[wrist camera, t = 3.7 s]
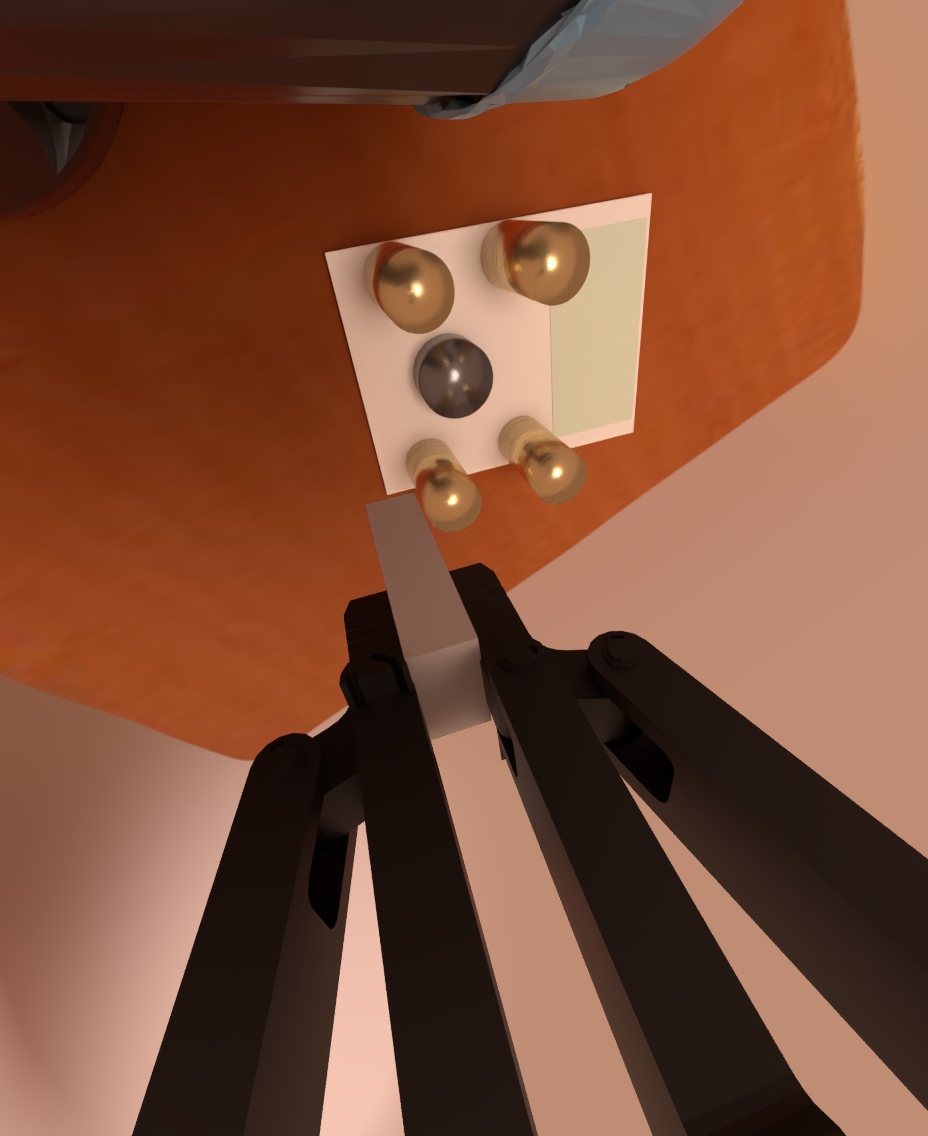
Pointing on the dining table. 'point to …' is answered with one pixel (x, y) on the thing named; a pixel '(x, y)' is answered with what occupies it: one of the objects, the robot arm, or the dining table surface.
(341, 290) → the board
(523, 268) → the cylinder
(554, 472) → the cylinder
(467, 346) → the dark metal puck
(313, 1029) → the robot arm
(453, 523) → the cylinder
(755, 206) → the dining table surface
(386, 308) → the cylinder
